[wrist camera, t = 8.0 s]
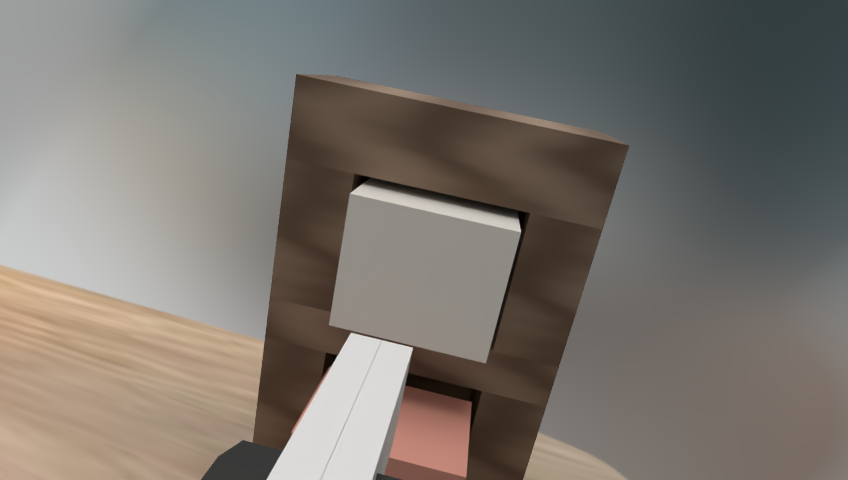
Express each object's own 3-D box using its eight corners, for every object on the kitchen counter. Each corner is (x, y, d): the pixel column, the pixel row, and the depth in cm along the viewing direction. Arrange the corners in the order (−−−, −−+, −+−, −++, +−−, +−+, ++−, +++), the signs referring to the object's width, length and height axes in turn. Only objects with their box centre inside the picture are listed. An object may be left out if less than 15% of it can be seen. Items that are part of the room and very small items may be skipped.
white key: (487, 314, 27) (516, 204, 26) (485, 363, 23) (521, 232, 21) (357, 283, 28) (376, 173, 26) (328, 325, 23) (349, 193, 21)
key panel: (490, 499, 34) (600, 132, 27) (489, 582, 29) (629, 145, 21) (284, 445, 35) (336, 76, 28) (244, 516, 29) (296, 74, 22)
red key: (445, 501, 27) (471, 402, 25) (434, 591, 22) (466, 477, 20) (313, 466, 27) (329, 366, 25) (274, 547, 22) (291, 432, 21)
